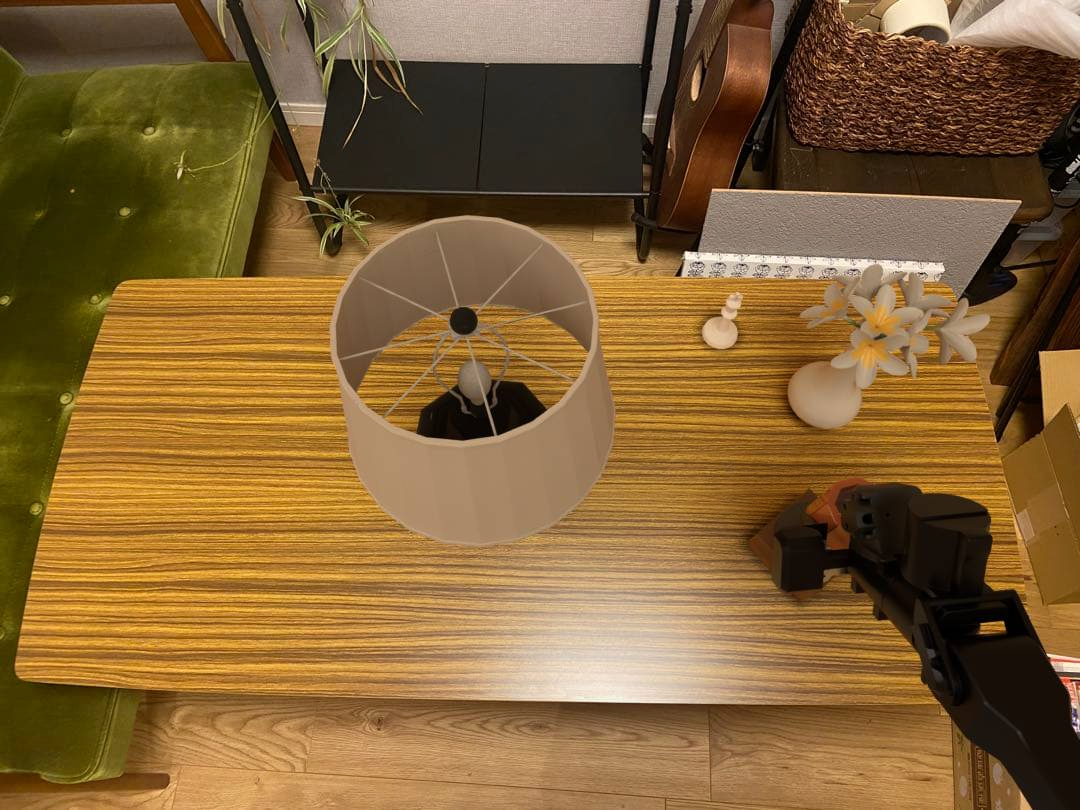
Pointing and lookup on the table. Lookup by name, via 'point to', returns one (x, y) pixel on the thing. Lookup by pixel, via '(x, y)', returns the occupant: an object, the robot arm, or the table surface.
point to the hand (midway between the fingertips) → (831, 512)
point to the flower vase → (875, 342)
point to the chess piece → (723, 325)
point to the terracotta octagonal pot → (835, 510)
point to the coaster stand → (786, 519)
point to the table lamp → (473, 384)
